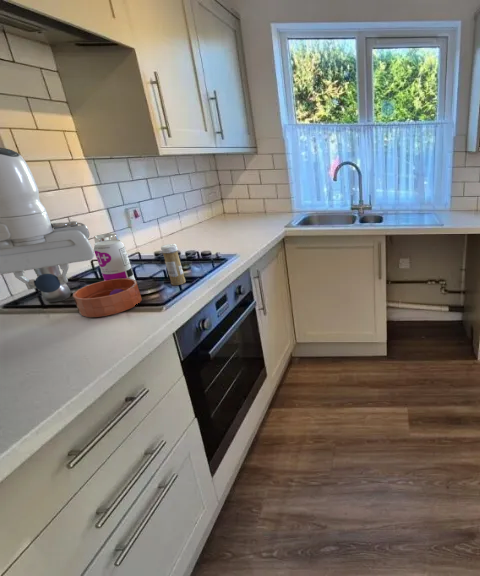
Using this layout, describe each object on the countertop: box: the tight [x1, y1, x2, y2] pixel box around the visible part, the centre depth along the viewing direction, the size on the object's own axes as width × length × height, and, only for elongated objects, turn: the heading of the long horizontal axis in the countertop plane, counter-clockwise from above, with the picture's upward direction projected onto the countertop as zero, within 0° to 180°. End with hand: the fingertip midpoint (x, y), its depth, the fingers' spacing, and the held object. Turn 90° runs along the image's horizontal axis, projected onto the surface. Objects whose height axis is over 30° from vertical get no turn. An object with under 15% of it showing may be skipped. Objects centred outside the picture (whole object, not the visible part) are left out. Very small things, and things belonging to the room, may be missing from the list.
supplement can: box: [93, 239, 136, 281], centre depth 120 cm, size 8×8×15 cm
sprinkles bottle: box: [160, 243, 187, 286], centre depth 121 cm, size 5×5×14 cm
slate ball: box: [35, 274, 60, 293], centre depth 84 cm, size 4×4×4 cm
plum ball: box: [110, 289, 124, 295], centre depth 108 cm, size 4×4×4 cm
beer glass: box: [93, 232, 120, 244], centre depth 129 cm, size 7×7×15 cm
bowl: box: [72, 278, 143, 318], centre depth 106 cm, size 15×15×6 cm
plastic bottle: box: [33, 265, 71, 303], centre depth 109 cm, size 6×7×20 cm
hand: (48, 285), depth 84 cm, fingers closed on slate ball, 4 cm apart
